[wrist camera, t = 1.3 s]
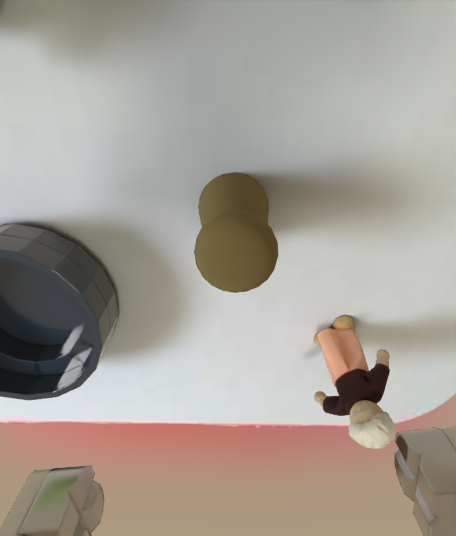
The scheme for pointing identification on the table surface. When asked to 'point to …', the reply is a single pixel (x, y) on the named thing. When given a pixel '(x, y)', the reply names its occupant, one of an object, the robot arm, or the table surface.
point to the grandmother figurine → (355, 384)
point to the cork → (235, 234)
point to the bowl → (50, 313)
